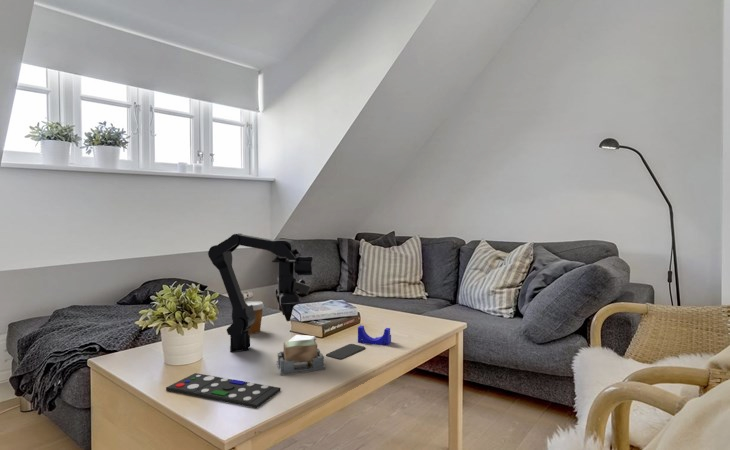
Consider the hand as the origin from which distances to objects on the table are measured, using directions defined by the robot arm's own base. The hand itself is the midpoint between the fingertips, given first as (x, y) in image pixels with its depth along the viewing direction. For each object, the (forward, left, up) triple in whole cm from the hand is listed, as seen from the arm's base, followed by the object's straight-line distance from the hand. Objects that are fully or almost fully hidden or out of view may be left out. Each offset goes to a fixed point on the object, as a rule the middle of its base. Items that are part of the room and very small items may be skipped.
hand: (286, 318), depth 151 cm
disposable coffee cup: (-10, +29, -12) cm, 33 cm away
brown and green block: (+2, -17, -10) cm, 20 cm away
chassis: (+2, -17, -12) cm, 21 cm away
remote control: (-22, -28, -13) cm, 38 cm away
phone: (+20, -8, -13) cm, 25 cm away
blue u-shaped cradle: (+34, -1, -12) cm, 36 cm away
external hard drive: (+6, +8, -13) cm, 16 cm away
